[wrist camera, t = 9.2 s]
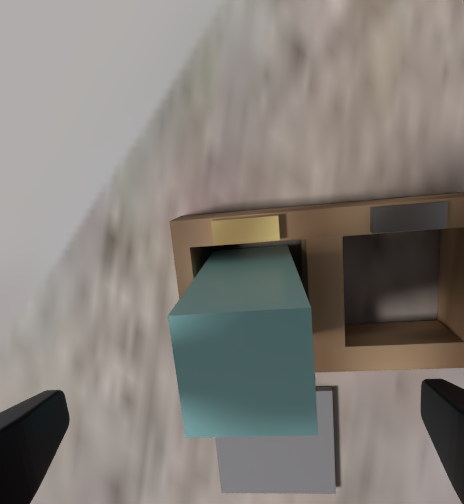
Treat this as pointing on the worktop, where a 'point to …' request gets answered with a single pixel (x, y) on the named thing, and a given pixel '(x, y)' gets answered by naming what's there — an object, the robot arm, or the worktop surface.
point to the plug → (245, 347)
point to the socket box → (331, 274)
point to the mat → (282, 458)
